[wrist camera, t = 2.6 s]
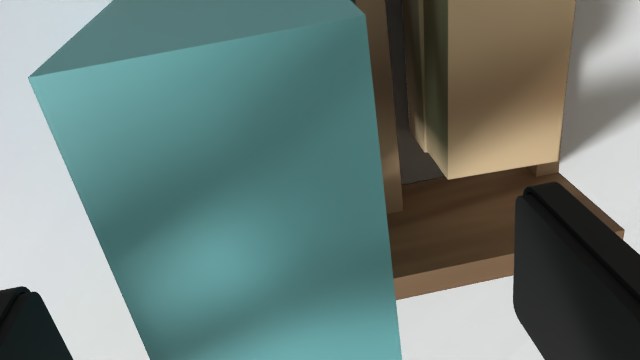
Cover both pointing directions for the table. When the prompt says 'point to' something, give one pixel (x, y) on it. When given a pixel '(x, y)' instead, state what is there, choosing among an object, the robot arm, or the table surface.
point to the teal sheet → (232, 174)
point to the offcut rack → (447, 200)
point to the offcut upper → (495, 82)
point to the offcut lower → (415, 68)
